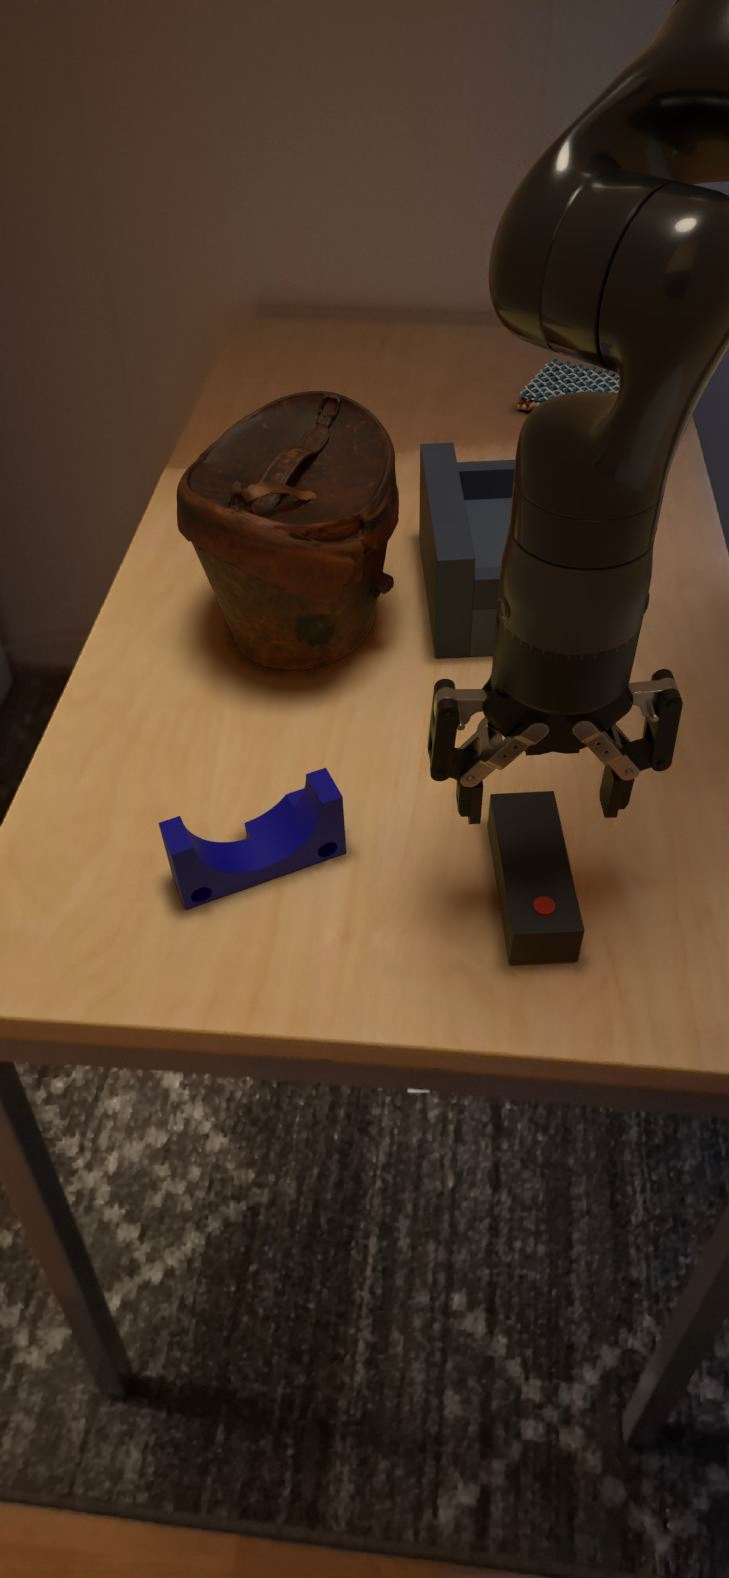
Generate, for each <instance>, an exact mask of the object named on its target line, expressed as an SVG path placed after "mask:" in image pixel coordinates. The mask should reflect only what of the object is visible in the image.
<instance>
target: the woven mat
mask: <svg viewBox="0 0 729 1578" xmlns="http://www.w3.org/2000/svg"><path fill="white" fill-rule="evenodd" d="M557 361H558V358H556V357H554V358H552V360H551V361H550V362H548V363H545V364H544V366H545V367H544V368H542V369H540V370H539V372H538V373H537V374H535V375H534V376H535V378H533V379H530V380H529V382H528V384H527V385H524V388H525V389H523V390H521V391H520V392H519V394H520V395H519V396H518V398H519V401H518V404H517V407H516V409H517V410H519V411H527V412H528V411H529V412H531V411H532V410H533V409H534V408H535V407H537V406H538V405H539V404H541V403H543V402H544V401H546V400H548V399H551V398H553V397H556V396H560V395H564V394H568V393H576V392H611V393H618V390H619V374H618V373H617V375H616V373H615V372H612V373H609V372H610V370H607V369H604V372H603V370H601V369H599V370H596V368H597V366H595V365H592V366H591V369H590V368H589V367H583V366H584V363H578V366H577V365H576V364H573V365H570V364H571V361H569V360H566V361H565V364H564V362H563V361H560V362H557ZM608 373H609V374H608Z"/></svg>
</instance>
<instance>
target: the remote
mask: <svg viewBox="0 0 729 1578" xmlns="http://www.w3.org/2000/svg"><path fill="white" fill-rule="evenodd" d="M487 815H488V816H487V817H488V818H487V831H488V839H489V845H490V851H491V859H492V863H493V869H494V870H493V871H494V877H495V884H496V889H497V897H498V902H499V909H500V915H501V916H500V917H501V921H502V927H503V928H502V929H503V934H504V942H505V948H506V954H507V960H508V965H510V966H516V965H536V964H538V965H539V964H555V963H556V964H557V963H576V962H579V958H580V953H581V948H582V944H583V940H584V935H585V928H584V927H585V926H584V923H583V922H584V921H583V918H582V913H581V908H580V904H579V900H578V895H577V890H576V885H575V882H574V877H573V873H572V872H573V871H572V867H571V863H570V859H569V858H570V857H569V855H568V854H569V853H568V849H567V845H566V840H565V836H564V832H563V831H564V830H563V827H562V823H561V817H560V813H559V808H558V804H557V799H556V795H555V791H554V790H545V791H525V792H524V791H523V792H505V793H504V792H503V793H490V794H489V805H488V814H487Z"/></svg>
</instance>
